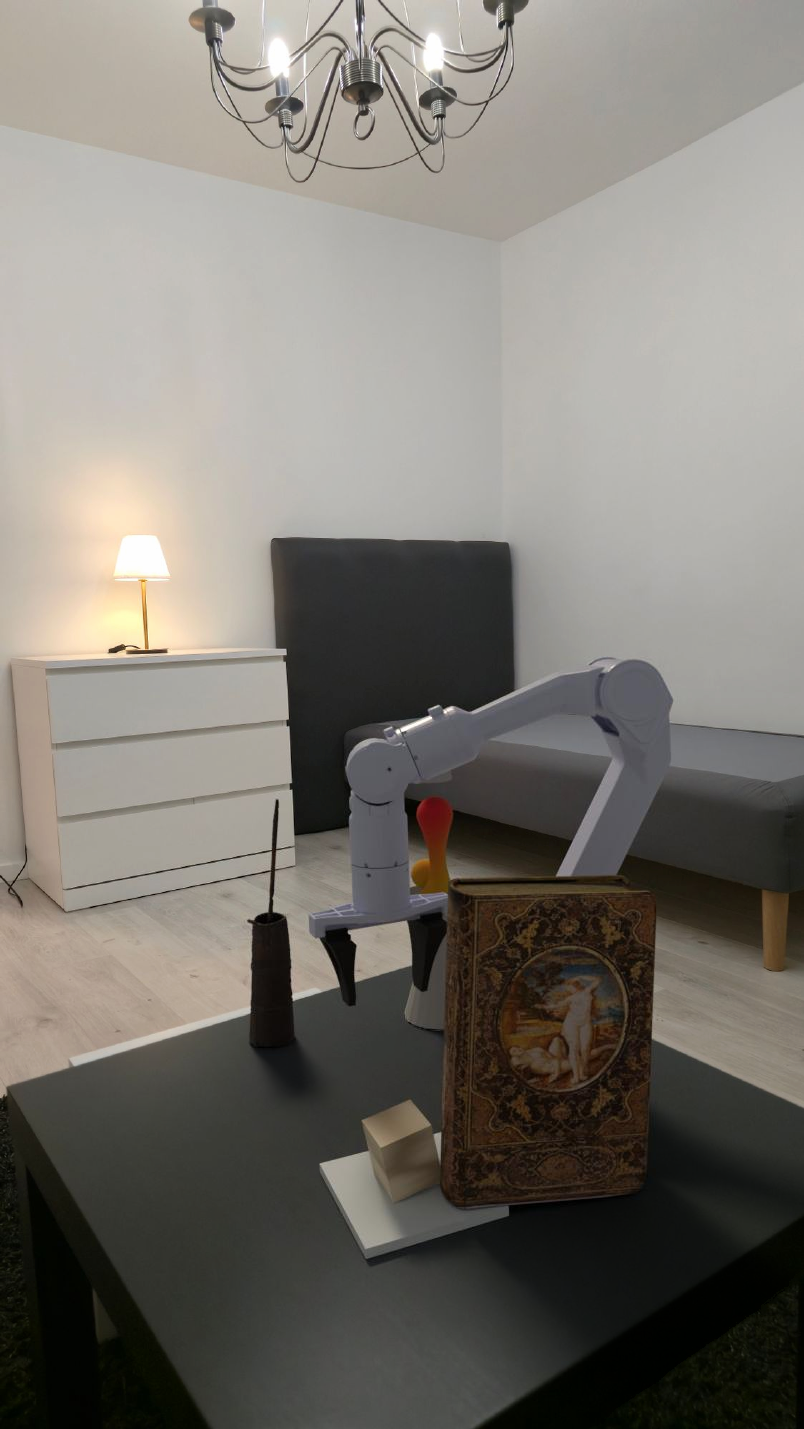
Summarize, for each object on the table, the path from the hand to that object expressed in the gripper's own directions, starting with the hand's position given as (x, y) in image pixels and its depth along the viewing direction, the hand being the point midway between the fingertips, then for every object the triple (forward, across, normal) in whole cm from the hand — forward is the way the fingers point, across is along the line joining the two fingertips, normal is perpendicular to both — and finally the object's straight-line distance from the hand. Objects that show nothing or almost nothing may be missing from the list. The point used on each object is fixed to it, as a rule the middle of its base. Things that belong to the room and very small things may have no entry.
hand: (385, 995), depth 90 cm
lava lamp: (+10, -12, -15) cm, 22 cm away
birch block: (+9, +4, +15) cm, 18 cm away
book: (+10, -5, +20) cm, 23 cm away
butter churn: (+11, +8, -17) cm, 22 cm away
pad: (+10, +4, +16) cm, 19 cm away
